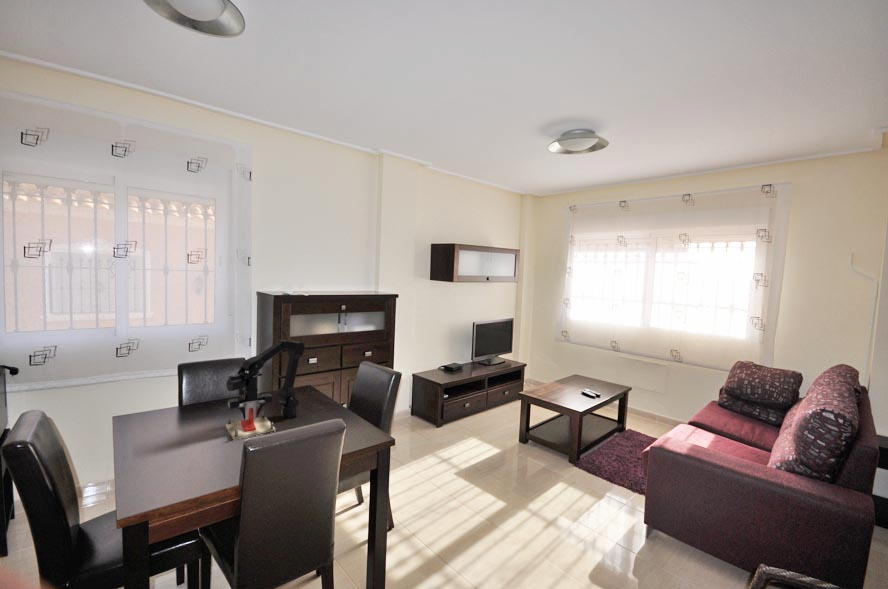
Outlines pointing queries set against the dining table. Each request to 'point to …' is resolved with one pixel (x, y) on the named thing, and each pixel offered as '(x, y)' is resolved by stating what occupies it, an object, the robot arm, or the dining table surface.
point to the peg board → (238, 431)
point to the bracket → (249, 422)
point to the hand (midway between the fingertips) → (250, 418)
